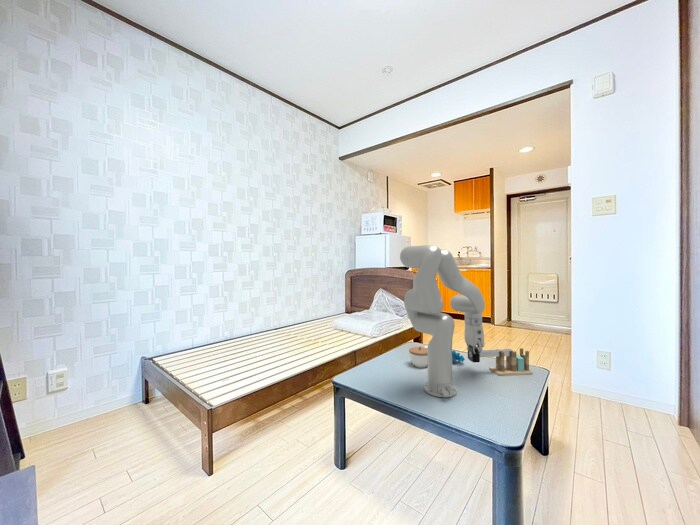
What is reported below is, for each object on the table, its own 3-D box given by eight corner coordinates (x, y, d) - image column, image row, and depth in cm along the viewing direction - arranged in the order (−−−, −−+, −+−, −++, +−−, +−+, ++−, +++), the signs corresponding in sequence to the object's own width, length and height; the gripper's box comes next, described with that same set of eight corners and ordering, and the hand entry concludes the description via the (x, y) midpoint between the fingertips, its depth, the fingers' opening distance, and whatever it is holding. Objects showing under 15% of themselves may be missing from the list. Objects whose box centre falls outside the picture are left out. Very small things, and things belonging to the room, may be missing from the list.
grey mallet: (514, 360, 133) (513, 347, 132) (472, 362, 131) (472, 349, 131) (509, 357, 136) (509, 345, 136) (468, 359, 134) (468, 346, 134)
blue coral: (469, 360, 145) (458, 349, 142) (464, 371, 142) (453, 359, 139) (451, 357, 154) (440, 346, 151) (447, 367, 151) (436, 356, 148)
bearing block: (532, 374, 131) (532, 352, 131) (499, 375, 130) (498, 353, 130) (520, 367, 139) (520, 347, 139) (489, 369, 138) (488, 348, 138)
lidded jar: (408, 368, 141) (408, 349, 140) (410, 360, 151) (410, 342, 151) (430, 370, 137) (430, 350, 137) (431, 362, 148) (431, 344, 148)
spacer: (524, 371, 132) (524, 358, 132) (518, 371, 132) (518, 358, 132) (517, 366, 138) (517, 354, 137) (512, 366, 138) (512, 354, 138)
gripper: (491, 324, 125) (491, 366, 125) (472, 317, 141) (472, 354, 141) (474, 325, 124) (475, 367, 124) (457, 317, 141) (457, 354, 141)
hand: (473, 360), depth 133 cm, fingers closed on grey mallet, 3 cm apart
